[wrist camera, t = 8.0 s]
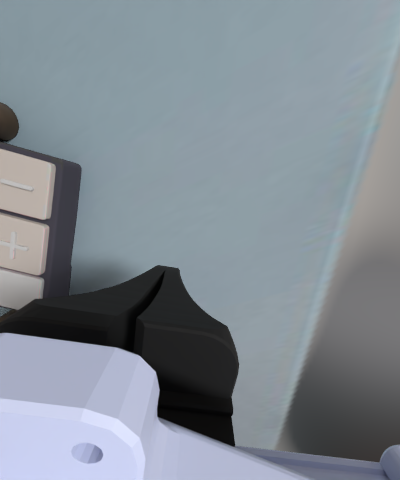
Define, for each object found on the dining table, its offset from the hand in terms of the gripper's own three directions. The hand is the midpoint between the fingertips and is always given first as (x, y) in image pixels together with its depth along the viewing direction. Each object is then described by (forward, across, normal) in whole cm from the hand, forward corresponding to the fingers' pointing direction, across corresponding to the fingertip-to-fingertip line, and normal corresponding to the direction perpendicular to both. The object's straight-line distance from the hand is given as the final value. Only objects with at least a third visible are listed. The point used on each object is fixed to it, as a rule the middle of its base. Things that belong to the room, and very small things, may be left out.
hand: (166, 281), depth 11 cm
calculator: (+10, +16, +1) cm, 19 cm away
